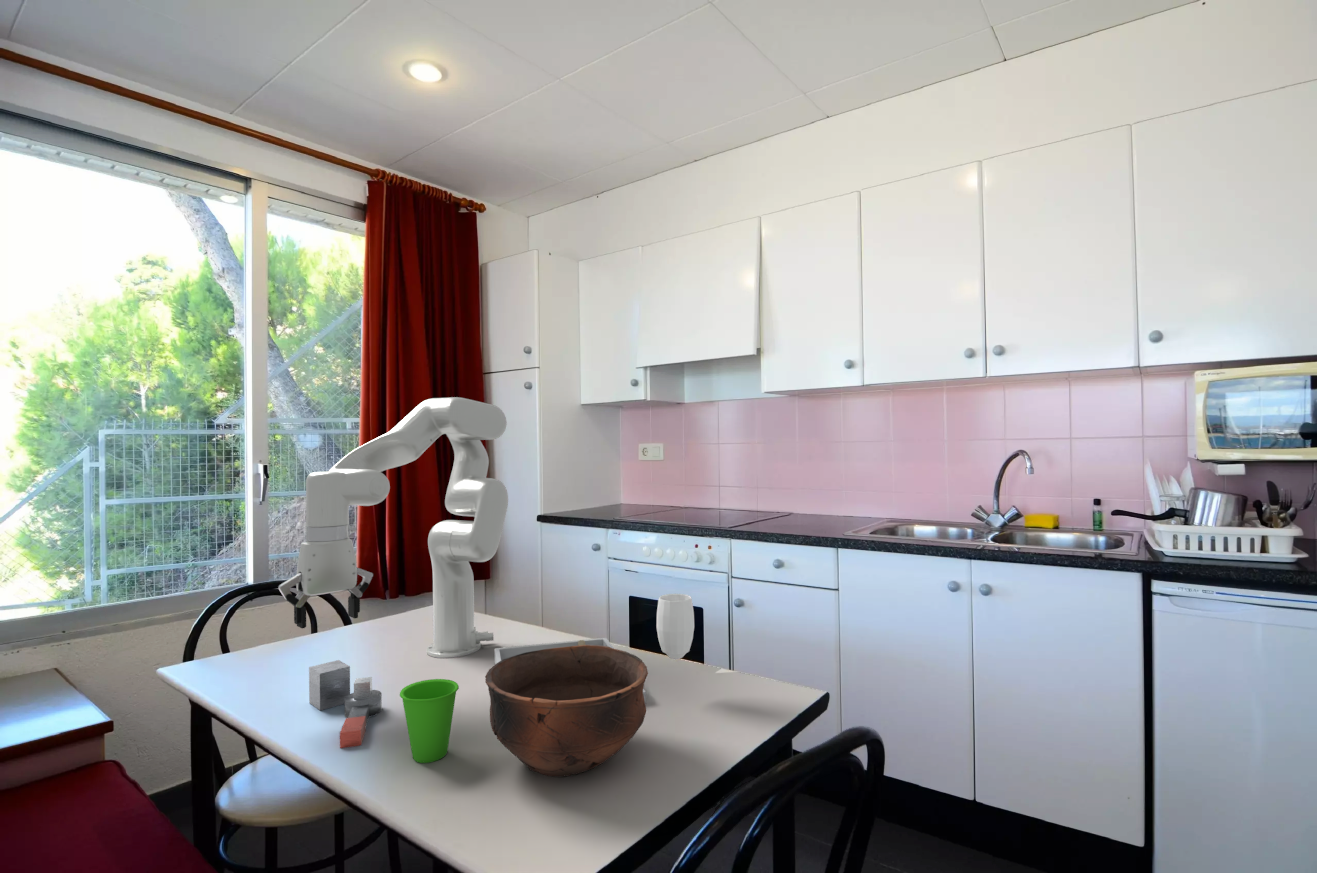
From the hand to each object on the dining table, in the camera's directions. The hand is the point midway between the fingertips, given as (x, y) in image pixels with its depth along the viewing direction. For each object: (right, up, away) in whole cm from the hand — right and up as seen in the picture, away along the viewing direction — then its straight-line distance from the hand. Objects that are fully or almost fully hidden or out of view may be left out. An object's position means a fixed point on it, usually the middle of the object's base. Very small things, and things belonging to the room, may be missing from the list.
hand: (327, 621), depth 131 cm
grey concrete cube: (0, -16, 0) cm, 16 cm away
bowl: (+51, -15, -26) cm, 59 cm away
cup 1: (+28, -16, -23) cm, 39 cm away
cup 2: (+68, -15, -4) cm, 70 cm away
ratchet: (+11, -16, -10) cm, 22 cm away
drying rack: (+45, -15, +8) cm, 48 cm away
